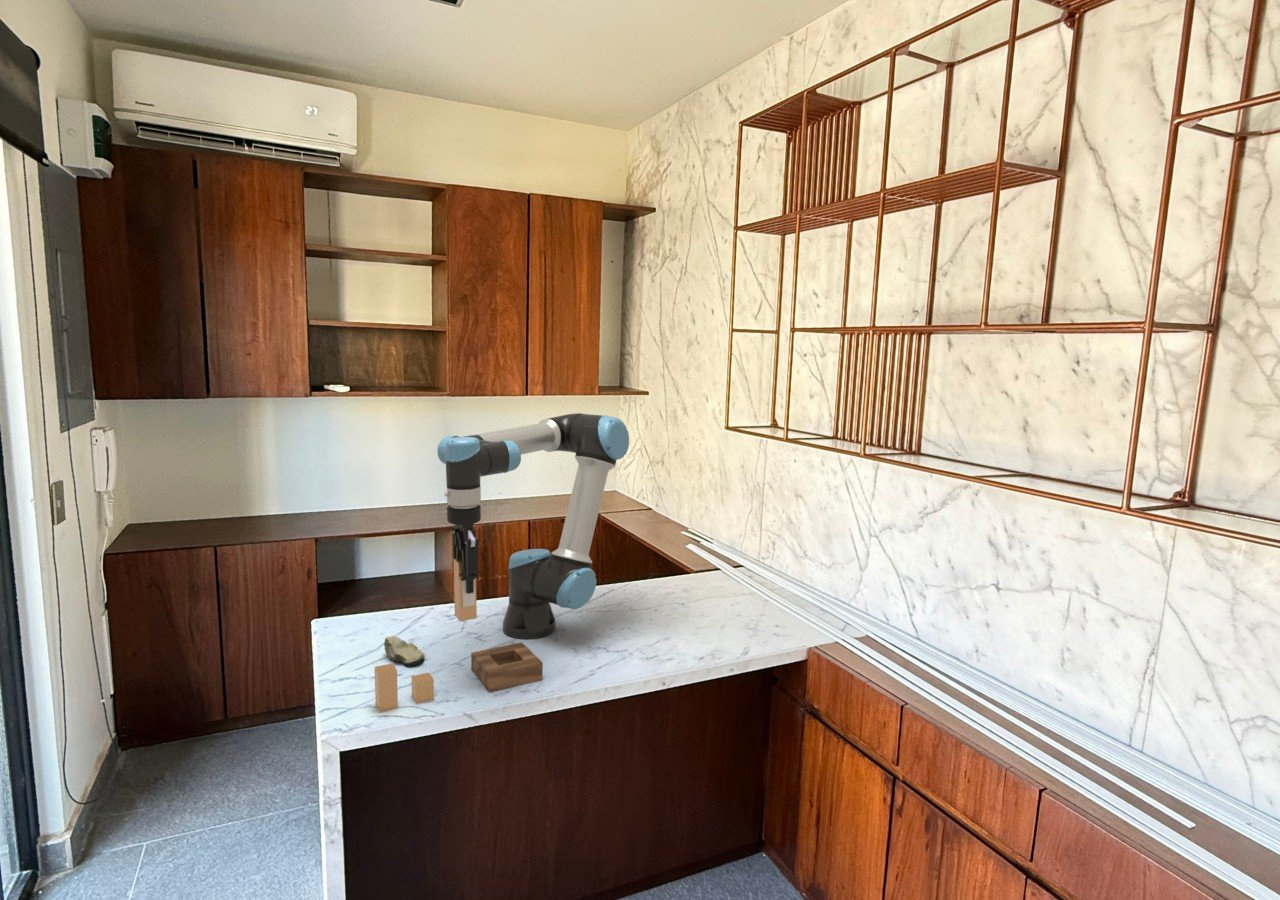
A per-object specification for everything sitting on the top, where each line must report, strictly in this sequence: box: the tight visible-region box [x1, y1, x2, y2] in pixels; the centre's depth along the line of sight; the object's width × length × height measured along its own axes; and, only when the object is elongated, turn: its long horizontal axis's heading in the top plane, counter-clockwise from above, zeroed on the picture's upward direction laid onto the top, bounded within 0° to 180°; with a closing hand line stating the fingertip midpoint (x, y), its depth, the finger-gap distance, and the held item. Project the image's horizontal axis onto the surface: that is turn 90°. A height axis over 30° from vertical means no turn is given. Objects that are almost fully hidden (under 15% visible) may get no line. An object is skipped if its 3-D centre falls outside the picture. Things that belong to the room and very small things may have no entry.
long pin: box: [453, 557, 478, 622], centre depth 162 cm, size 4×4×14 cm
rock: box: [383, 635, 425, 667], centre depth 178 cm, size 11×6×10 cm
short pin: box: [411, 672, 435, 705], centre depth 159 cm, size 4×4×5 cm
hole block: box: [470, 641, 544, 693], centre depth 172 cm, size 14×14×4 cm
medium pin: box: [374, 663, 399, 713], centre depth 155 cm, size 4×4×9 cm
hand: (465, 601), depth 163 cm, fingers closed on long pin, 4 cm apart
